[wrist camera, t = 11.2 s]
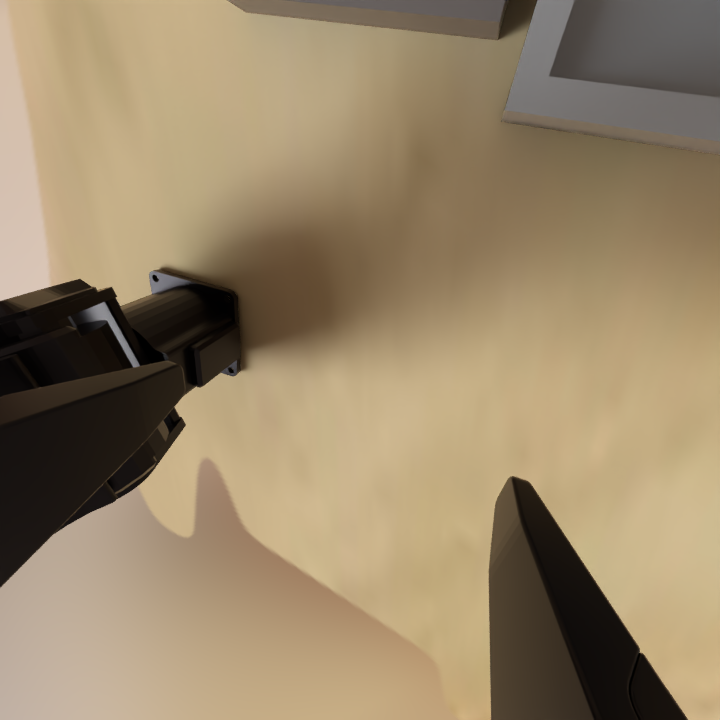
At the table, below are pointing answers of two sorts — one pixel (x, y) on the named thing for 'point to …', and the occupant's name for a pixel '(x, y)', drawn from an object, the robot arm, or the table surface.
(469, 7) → the socket collar
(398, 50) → the table surface
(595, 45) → the parts tray
